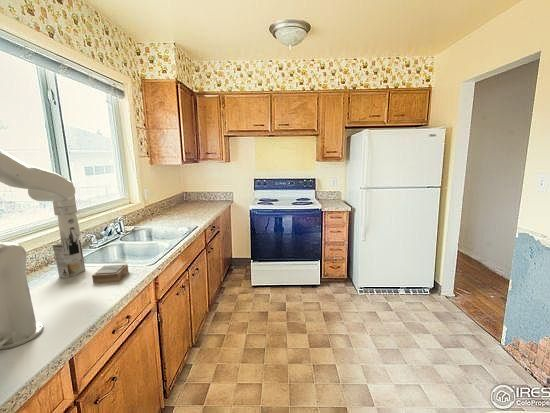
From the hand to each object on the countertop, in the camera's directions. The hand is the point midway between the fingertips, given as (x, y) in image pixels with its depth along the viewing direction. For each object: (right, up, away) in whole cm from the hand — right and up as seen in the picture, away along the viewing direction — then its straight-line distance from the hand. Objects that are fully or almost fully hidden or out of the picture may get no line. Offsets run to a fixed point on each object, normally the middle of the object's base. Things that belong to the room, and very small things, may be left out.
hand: (71, 251), depth 117 cm
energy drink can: (0, -5, +1) cm, 5 cm away
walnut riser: (+8, -15, +15) cm, 22 cm away
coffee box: (-15, -14, +20) cm, 29 cm away
